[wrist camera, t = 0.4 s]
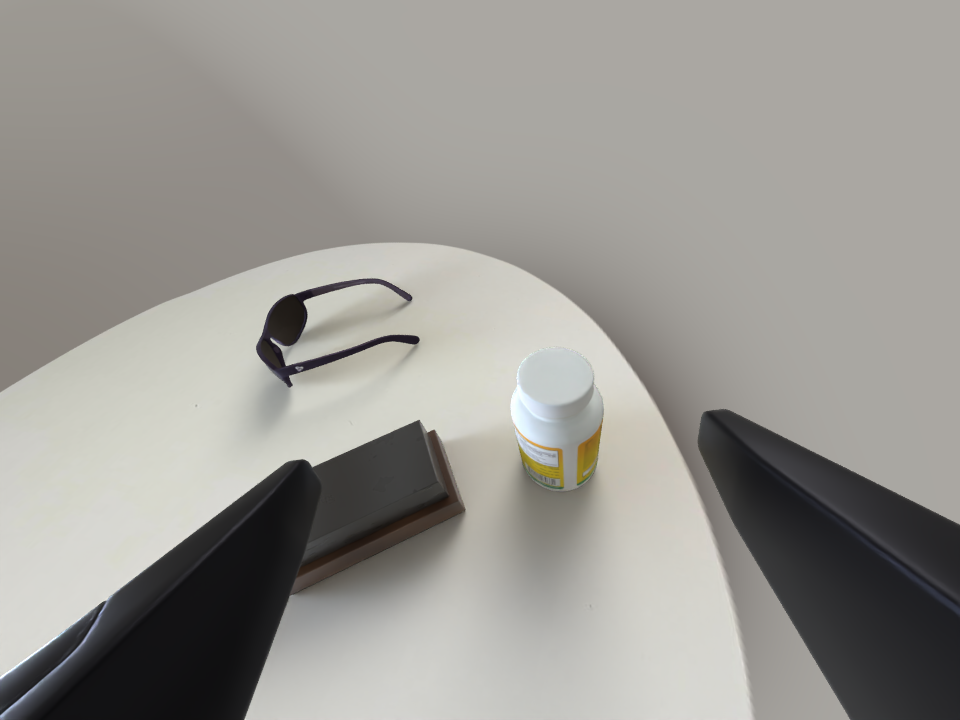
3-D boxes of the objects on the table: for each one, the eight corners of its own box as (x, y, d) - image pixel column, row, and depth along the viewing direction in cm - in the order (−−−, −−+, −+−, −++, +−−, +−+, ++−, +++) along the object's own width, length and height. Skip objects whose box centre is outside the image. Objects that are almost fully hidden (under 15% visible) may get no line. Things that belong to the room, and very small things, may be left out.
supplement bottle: (531, 501, 23) (512, 428, 16) (515, 433, 27) (495, 350, 20) (610, 484, 23) (625, 403, 16) (583, 418, 26) (586, 328, 19)
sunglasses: (294, 325, 44) (269, 294, 40) (410, 286, 44) (395, 252, 40) (277, 406, 34) (242, 375, 31) (425, 356, 35) (407, 320, 31)
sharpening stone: (441, 441, 28) (424, 411, 24) (466, 510, 23) (448, 485, 20) (292, 510, 26) (251, 487, 23) (289, 596, 22) (240, 583, 19)
